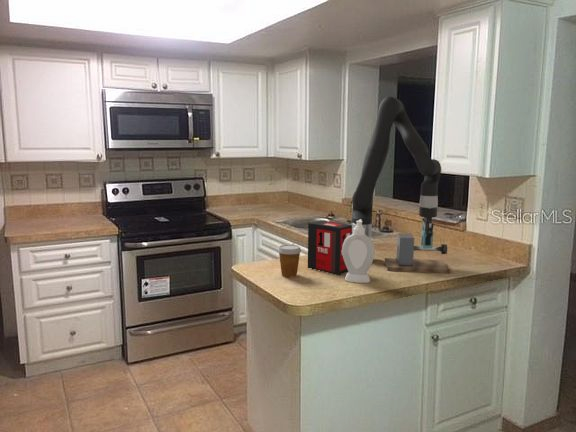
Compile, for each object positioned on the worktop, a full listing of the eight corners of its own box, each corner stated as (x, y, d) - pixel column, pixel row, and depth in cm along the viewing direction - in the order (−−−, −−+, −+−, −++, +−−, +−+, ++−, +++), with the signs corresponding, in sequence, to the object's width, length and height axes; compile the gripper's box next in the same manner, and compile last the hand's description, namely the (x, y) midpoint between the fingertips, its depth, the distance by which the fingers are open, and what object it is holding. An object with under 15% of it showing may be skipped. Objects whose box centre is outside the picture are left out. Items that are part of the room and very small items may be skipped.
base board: (387, 270, 206) (387, 267, 206) (384, 261, 222) (384, 257, 222) (449, 273, 203) (449, 269, 203) (442, 263, 219) (442, 260, 219)
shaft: (410, 253, 210) (410, 244, 209) (408, 251, 214) (409, 242, 213) (446, 255, 208) (447, 245, 207) (444, 252, 212) (445, 243, 211)
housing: (398, 265, 208) (400, 237, 206) (396, 260, 218) (397, 233, 216) (412, 266, 208) (414, 238, 206) (409, 260, 217) (411, 233, 215)
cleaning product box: (307, 268, 209) (308, 223, 206) (319, 264, 216) (320, 220, 213) (339, 275, 199) (340, 228, 195) (350, 270, 205) (352, 225, 202)
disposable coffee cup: (281, 279, 193) (281, 250, 191) (275, 272, 202) (275, 244, 200) (303, 277, 195) (304, 248, 193) (296, 271, 204) (297, 243, 202)
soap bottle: (374, 278, 194) (377, 219, 190) (372, 284, 187) (375, 223, 183) (343, 276, 198) (344, 217, 194) (340, 281, 190) (341, 221, 186)
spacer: (422, 247, 208) (423, 232, 207) (420, 245, 214) (421, 229, 212) (432, 248, 208) (433, 232, 207) (430, 245, 213) (430, 229, 212)
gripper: (417, 203, 215) (415, 240, 218) (422, 208, 201) (420, 247, 204) (434, 203, 214) (432, 240, 217) (440, 208, 200) (438, 247, 203)
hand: (426, 243), depth 210 cm, fingers closed on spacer, 5 cm apart
